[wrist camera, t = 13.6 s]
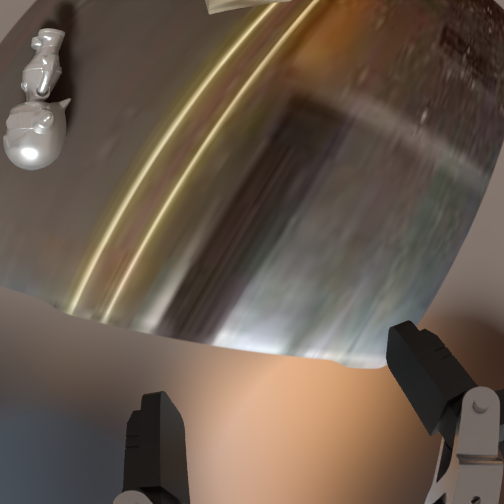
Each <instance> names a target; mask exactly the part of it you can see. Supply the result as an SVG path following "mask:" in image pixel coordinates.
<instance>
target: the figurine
mask: <svg viewBox="0 0 504 504" xmlns="http://www.w3.org/2000/svg"><path fill="white" fill-rule="evenodd" d="M64 37H65V32H63V31H61V30H57V29H51V28H45V29H41V30H40V31H39V33H38V37H34V38H32V41H31V42H32V43H31V47H32V48H33V49H35V50H36V53H35V56H34V58H33V59H32V60H31V61H30V63H29V64H28V65H27V66H26V67H25V68H24V70H23V78H22V82H23V84H22V82H21V87H22V86H23V87H22V89H23V90H24V92H25V93H26V96H27V97H26V101H27V102H24V103H20V104H18V105H16V106H14V107H13V108H12V109H11V111H10V116H9V117H8V119H7V121H6V125H7V132H6V135H4V137H3V144H4V149H5V152H6V154H7V156H8V158H9V159H10V160H11V161H12V162H13V163H14V164H15V165H16V166H18V167H20V168H23V169H27V170H36V169H40V168H43V167H46V166H48V165H50V164H51V163H52V162H53V161H54V160H55V159H56V158H57V157H58V155H59V154H60V152H61V150H62V147H63V144H64V141H65V136H66V117H65V109H66V107H67V106H68V104H69V102H70V101H71V99H70V98H68V99H65V100H62V101H59V102H52V103H48V102H44V101H45V100H46V99H47V98H48V97H49V95H50V93H51V91H52V90H53V88H54V86H55V85H56V83H57V81H58V79H59V77H60V75H61V74H62V68H61V67H60V62H59V50H60V49H61V44H62V42H63V38H64Z"/></svg>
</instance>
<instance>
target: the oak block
mask: <svg viewBox="0 0 504 504" xmlns="http://www.w3.org/2000/svg"><path fill="white" fill-rule="evenodd" d="M284 1H291V0H205V2H206V6H207V9H208V13H209V14H214V13H218V12H223V11H227V10H232V9H238V8H243V7H249V6H255V5H261V4H268V3H276V2H284Z"/></svg>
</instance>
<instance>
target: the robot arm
mask: <svg viewBox="0 0 504 504" xmlns="http://www.w3.org/2000/svg"><path fill="white" fill-rule="evenodd" d="M386 360H387V364H388V367H389V369H390V371H391V372H392V374H393V376H394V377H395V379H396V380H397V382H398V384H399V385H400V387H401V388H402V390H403V392H404V393H405V395H406V397H407V398H408V400H409V402H410V403H411V405H412V406H413V408H414V410H415V411H416V413H417V415H418V416H419V418H420V419H421V421H422V423H423V425H424V426H425V428H426V430H427V431H428V433H429V435H430V436H432V435H434V434H436V433H438V432H440V433H441V435H442V436H443V438H442V442H441V447H440V453H439V457H438V462H437V467H436V472H435V476H434V480H433V484H432V487H431V489H430V491H429V493H428V496H427V498H426V501H425V504H498V501H499V495H500V489H501V482H502V474H503V462H502V460H501V459H499V458H498V448H499V450H500V452H501V454H502V456H503V458H504V389H502V390H498V391H493V390H491V389H489V388H487V387H479V386H478V385H477V384H476V383H475V382H474V381H473V380H472V378H471V377H470V376H469V374H468V373H467V372H466V371H465V369H464V368H463V367H462V366H461V364H460V363H459V362H458V361H457V359H456V358H455V357H454V356H452V353H451V352H450V351H449V349H448V348H446V347H445V345H444V343H443V342H442V341H441V340H440V339H439V337H438V336H437V335H435V334H433V333H431V332H430V331H428V330H426V329H423V330H421V331H419V330H418V329H417V327H416V326H415V325H414V324H413V323H412V322H411V321H409V320H408V321H405V322H403V323H400V324H398V325H395V326H393V327H390V329H389V333H388V343H387V352H386ZM126 437H127V439H126V445H125V447H126V450H125V460H124V482H123V490H122V493H121V494H120V495H118V496H117V497H116V499H115V500H114V502H113V504H190V496H189V485H188V473H187V461H186V445H185V428H184V423H183V420H182V417H181V415H180V413H179V411H178V410H177V409H176V407H175V406H174V404H173V403H172V401H171V400H170V398H169V397H168V395H167V394H166V392H164V391H160V392H155V393H149V394H144V395H143V396H142V402H141V410H138V411H133V413H132V415H131V417H130V419H129V421H128V423H127V431H126Z"/></svg>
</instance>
